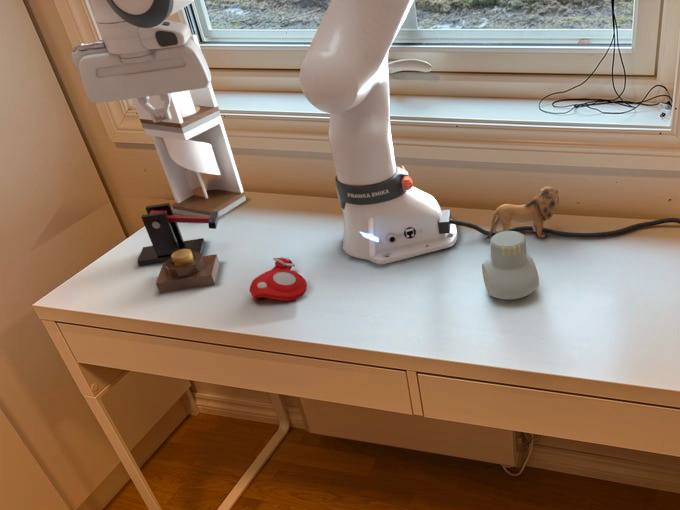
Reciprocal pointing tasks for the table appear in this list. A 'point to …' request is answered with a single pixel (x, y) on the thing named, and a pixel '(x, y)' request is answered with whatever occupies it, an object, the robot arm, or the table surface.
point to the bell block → (188, 273)
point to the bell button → (182, 257)
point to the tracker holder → (279, 282)
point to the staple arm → (193, 218)
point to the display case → (195, 152)
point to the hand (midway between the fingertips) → (162, 120)
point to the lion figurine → (527, 212)
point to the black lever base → (164, 237)
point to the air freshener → (509, 267)
